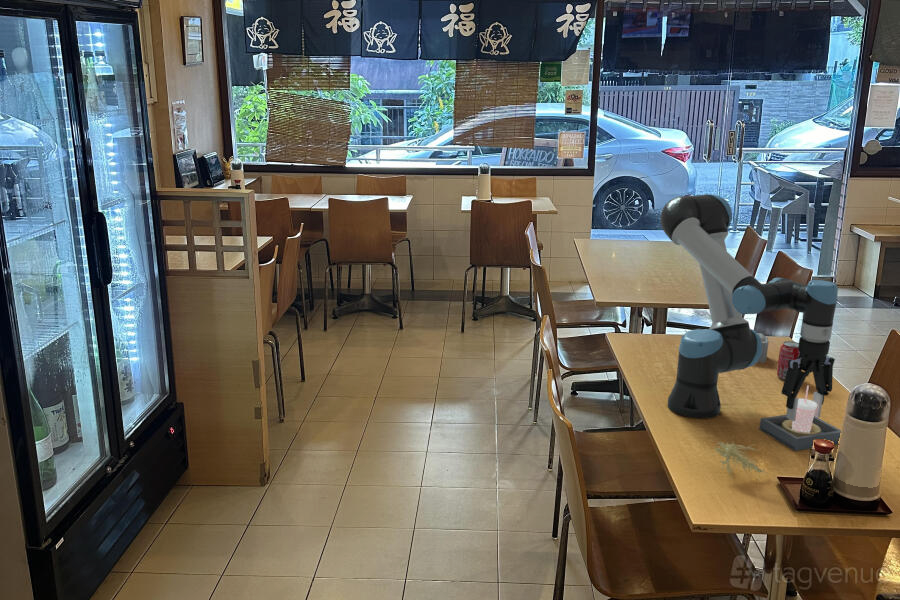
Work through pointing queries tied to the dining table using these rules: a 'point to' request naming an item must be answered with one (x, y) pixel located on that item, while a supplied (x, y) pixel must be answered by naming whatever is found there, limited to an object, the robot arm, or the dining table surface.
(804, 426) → the beverage cup
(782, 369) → the soda can
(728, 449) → the plant sprig
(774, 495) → the dining table surface
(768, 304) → the robot arm
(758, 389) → the dining table surface
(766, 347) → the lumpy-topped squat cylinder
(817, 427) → the walled box
